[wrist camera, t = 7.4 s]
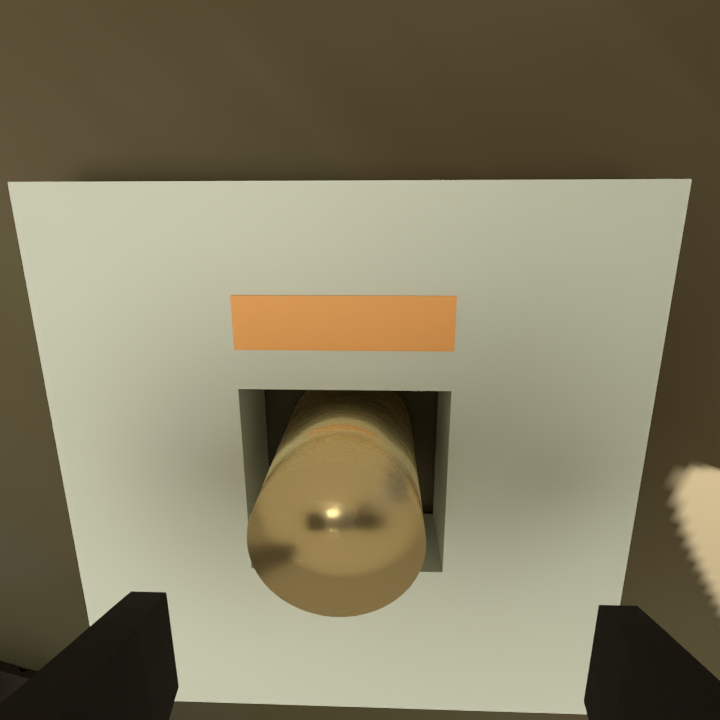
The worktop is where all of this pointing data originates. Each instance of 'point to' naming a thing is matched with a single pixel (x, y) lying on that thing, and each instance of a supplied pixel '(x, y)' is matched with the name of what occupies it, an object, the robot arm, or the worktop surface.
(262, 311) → the plate
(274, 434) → the worktop surface
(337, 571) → the cylinder
